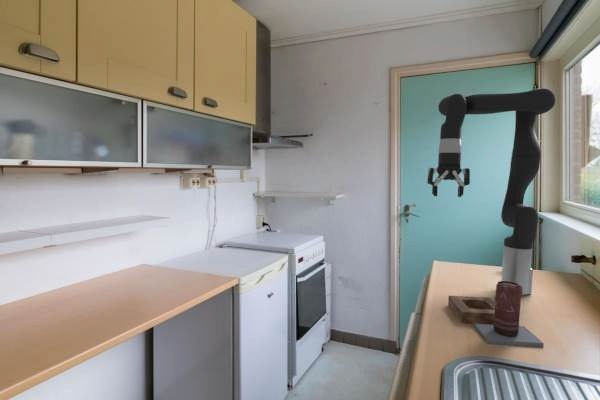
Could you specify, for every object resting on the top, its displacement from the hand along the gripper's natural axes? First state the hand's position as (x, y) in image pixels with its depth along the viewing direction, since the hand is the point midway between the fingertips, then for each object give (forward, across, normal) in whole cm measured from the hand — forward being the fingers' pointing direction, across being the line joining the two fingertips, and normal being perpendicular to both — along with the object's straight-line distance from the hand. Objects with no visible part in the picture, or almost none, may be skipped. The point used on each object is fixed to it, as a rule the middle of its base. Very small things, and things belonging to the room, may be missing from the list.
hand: (447, 196), depth 132 cm
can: (+35, +8, -34) cm, 49 cm away
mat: (+36, +8, -34) cm, 50 cm away
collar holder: (+36, +5, -20) cm, 42 cm away
